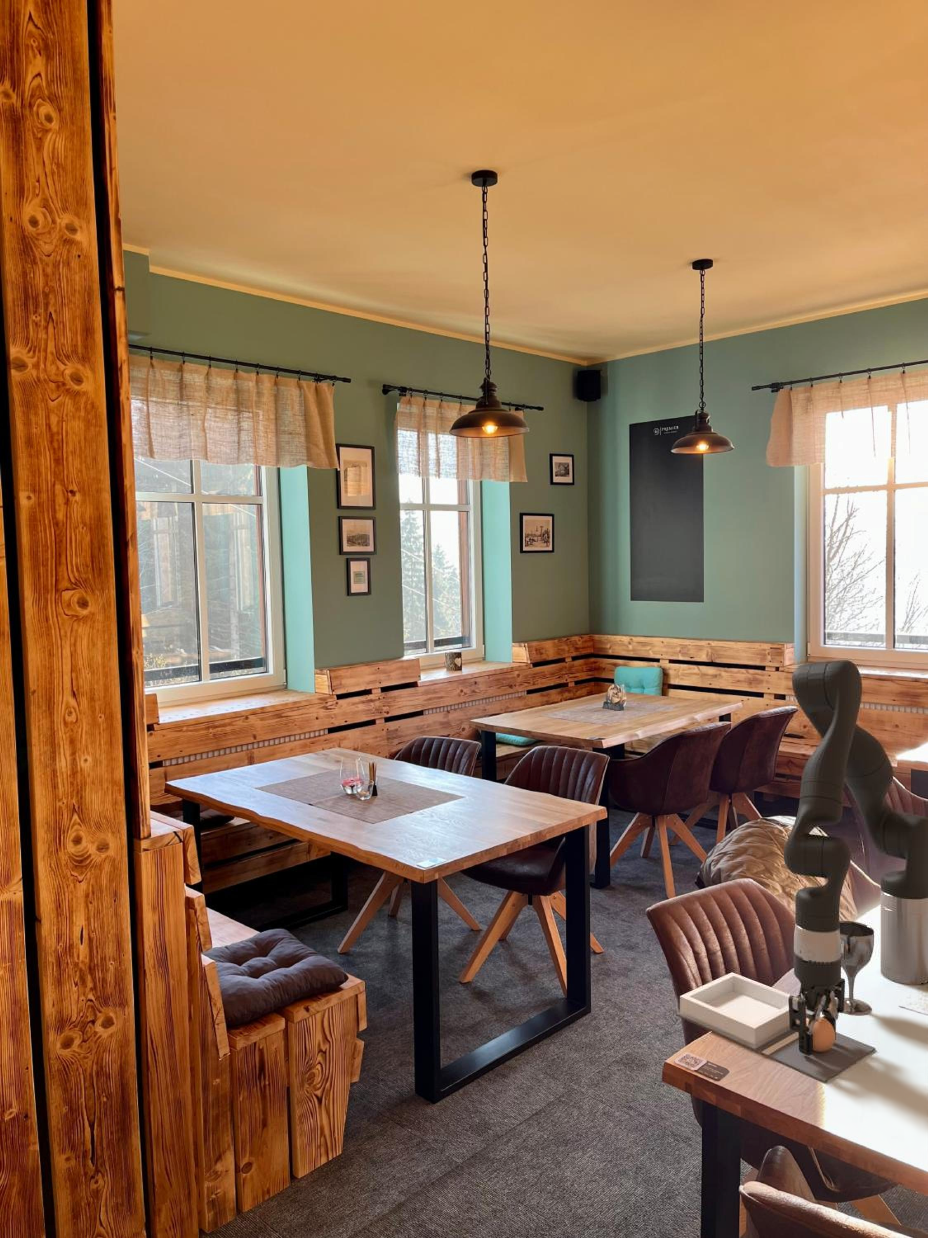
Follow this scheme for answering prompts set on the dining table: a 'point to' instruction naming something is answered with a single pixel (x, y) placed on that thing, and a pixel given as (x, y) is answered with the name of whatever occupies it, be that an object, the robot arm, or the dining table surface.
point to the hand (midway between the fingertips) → (817, 1046)
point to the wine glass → (855, 960)
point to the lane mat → (814, 1065)
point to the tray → (739, 1009)
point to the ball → (822, 1035)
